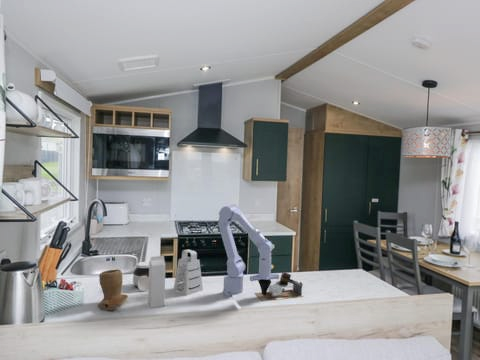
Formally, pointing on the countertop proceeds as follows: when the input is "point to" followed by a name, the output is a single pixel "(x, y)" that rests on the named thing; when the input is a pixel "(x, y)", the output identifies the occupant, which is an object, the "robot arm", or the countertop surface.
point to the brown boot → (111, 289)
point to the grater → (188, 274)
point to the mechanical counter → (286, 279)
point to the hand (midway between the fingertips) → (263, 294)
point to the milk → (156, 282)
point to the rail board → (283, 293)
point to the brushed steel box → (275, 290)
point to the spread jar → (141, 276)
